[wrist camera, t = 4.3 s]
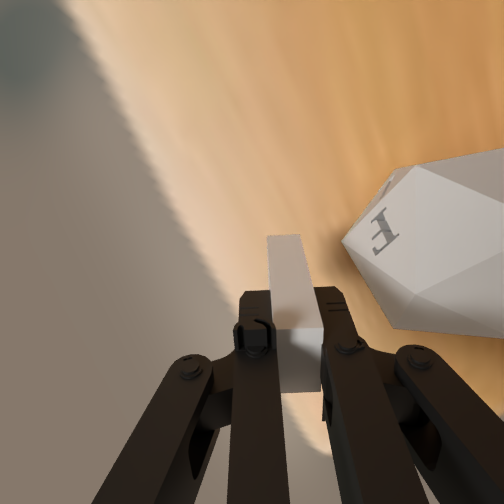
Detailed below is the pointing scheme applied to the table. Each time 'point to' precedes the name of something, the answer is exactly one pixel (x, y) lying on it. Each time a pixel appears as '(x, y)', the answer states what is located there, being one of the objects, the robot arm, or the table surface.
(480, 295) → the die
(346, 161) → the table surface
